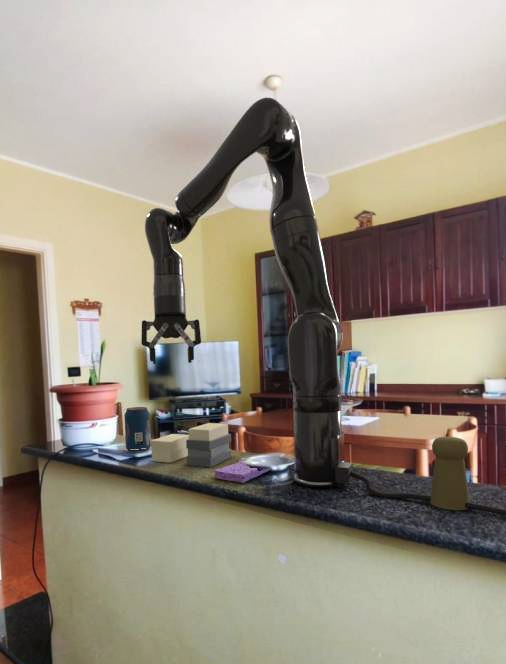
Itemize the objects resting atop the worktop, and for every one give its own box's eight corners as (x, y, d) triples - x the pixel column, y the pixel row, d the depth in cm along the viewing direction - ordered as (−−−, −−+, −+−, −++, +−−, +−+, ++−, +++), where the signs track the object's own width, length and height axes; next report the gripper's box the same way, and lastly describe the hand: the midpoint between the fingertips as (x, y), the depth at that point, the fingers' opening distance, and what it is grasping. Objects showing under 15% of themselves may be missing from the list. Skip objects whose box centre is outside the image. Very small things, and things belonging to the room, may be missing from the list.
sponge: (214, 479, 89) (214, 470, 89) (246, 465, 100) (246, 457, 99) (243, 483, 85) (242, 474, 85) (273, 469, 95) (273, 461, 95)
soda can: (125, 449, 123) (123, 407, 122) (150, 447, 124) (148, 406, 124) (126, 454, 116) (124, 410, 115) (152, 452, 118) (150, 408, 117)
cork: (455, 512, 66) (455, 442, 66) (421, 501, 72) (421, 436, 71) (479, 505, 69) (479, 438, 68) (444, 495, 74) (444, 432, 74)
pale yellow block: (228, 433, 108) (228, 423, 108) (209, 441, 99) (208, 430, 99) (208, 432, 111) (208, 422, 111) (188, 439, 102) (188, 428, 102)
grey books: (232, 457, 109) (231, 433, 108) (211, 467, 99) (210, 441, 98) (208, 455, 112) (207, 432, 112) (185, 465, 102) (184, 440, 102)
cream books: (191, 454, 113) (191, 434, 113) (170, 463, 104) (169, 441, 104) (173, 452, 116) (172, 433, 116) (150, 461, 107) (149, 440, 107)
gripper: (138, 293, 98) (142, 364, 99) (200, 293, 101) (203, 362, 102) (140, 298, 106) (143, 364, 107) (197, 298, 108) (199, 362, 109)
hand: (172, 363), depth 104 cm, fingers open, 8 cm apart
